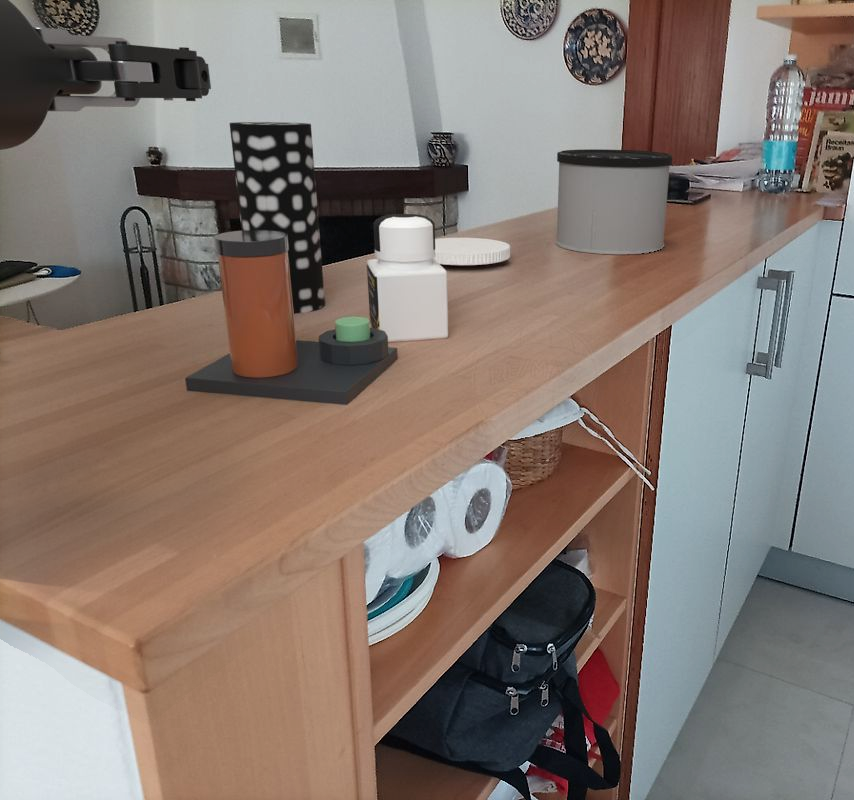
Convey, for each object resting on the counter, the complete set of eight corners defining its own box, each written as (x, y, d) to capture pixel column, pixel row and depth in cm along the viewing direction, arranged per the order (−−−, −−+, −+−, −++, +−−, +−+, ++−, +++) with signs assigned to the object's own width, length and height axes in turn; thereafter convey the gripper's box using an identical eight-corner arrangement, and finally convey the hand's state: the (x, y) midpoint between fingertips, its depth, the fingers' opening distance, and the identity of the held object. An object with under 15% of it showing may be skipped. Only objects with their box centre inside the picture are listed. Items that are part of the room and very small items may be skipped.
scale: (186, 391, 64) (181, 356, 63) (259, 348, 75) (256, 318, 74) (347, 405, 62) (344, 370, 61) (397, 359, 73) (396, 328, 72)
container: (669, 239, 140) (676, 151, 135) (660, 258, 123) (668, 158, 118) (566, 233, 144) (569, 147, 139) (544, 250, 127) (546, 154, 121)
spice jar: (217, 375, 65) (199, 239, 60) (252, 355, 70) (237, 228, 66) (280, 381, 64) (266, 243, 60) (310, 360, 69) (299, 231, 65)
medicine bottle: (369, 325, 84) (363, 211, 79) (435, 320, 86) (432, 210, 82) (378, 344, 78) (372, 222, 73) (449, 339, 80) (446, 219, 75)
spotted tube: (338, 306, 91) (325, 124, 84) (273, 318, 85) (253, 125, 78) (301, 293, 96) (285, 122, 89) (237, 304, 91) (215, 122, 83)
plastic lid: (475, 276, 107) (475, 258, 107) (396, 264, 114) (395, 247, 113) (527, 260, 119) (527, 243, 118) (452, 250, 125) (451, 234, 124)
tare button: (330, 343, 69) (329, 324, 68) (344, 333, 72) (343, 315, 71) (363, 345, 68) (361, 326, 68) (375, 336, 71) (374, 317, 70)
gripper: (24, -37, 31) (238, 8, 46) (-271, -35, 33) (25, 7, 48) (61, 161, 34) (252, 142, 49) (-214, 149, 36) (49, 135, 51)
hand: (139, 75), depth 48 cm, fingers open, 8 cm apart
